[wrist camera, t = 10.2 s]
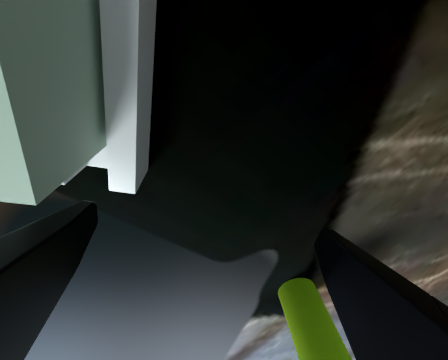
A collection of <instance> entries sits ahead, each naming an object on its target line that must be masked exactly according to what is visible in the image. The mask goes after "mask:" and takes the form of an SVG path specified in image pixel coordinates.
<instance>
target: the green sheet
mask: <svg viewBox="0 0 448 360" xmlns="http://www.w3.org/2000/svg"><path fill="white" fill-rule="evenodd" d="M106 146H107V143H106V123H105V103H104V83H103V63H102V43H101V24H100V4H99V0H0V201H1V202H10V203H19V204H28V205H37V204H38V203H39V202H41V201H42V200H43V199H44V198H45V197H47V196H48V195H49V194H50V193H51V192H53V191H54V190H55V189H56V188H57V187H58V186H60V185H61V184H62V183H63V182H64V181H66V180H67V179H68V178H69V177H70V176H71V175H73V174H74V173H75V172H76V171H77V170H79V169H80V168H81V167H82V166H83V165H84V164H86V163H87V162H88V161H89V160H90V159H92V158H93V157H94V156H95V155H96V154H97V153H99V152H100V151H101V150H102V149H103V148H105V147H106Z"/></svg>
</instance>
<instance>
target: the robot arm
mask: <svg viewBox="0 0 448 360" xmlns="http://www.w3.org/2000/svg"><path fill="white" fill-rule="evenodd" d="M97 223H98V216H97V206H96V203H95V202H93V201H84V200H83V201H80V202H77V203H75V204H73V205H71V206H69V207H66V208H64V209H62V210H60V211H58V212H55V213H53V214H51V215H49V216H46V217H44V218H42V219H40V220H38V221H35V222H33V223H31V224H29V225H26V226H24V227H22V228H20V229H18V230H15V231H13V232H11V233H9V234H7V235H4V236H2V237H0V360H24V359H25V357H26V355H27V354H28V352H29V350H30V349H31V347H32V345H33V343H34V342H35V340H36V338H37V337H38V335H39V333H40V331H41V330H42V328H43V326H44V325H45V323H46V321H47V319H48V318H49V316H50V314H51V313H52V311H53V309H54V307H55V306H56V304H57V302H58V301H59V299H60V297H61V295H62V294H63V292H64V291H65V289H66V287H67V285H68V284H69V282H70V280H71V279H72V277H73V275H74V273H75V272H76V270H77V268H78V266H79V264H80V262H81V260H82V258H83V256H84V253H85V251H86V249H87V247H88V244H89V242H90V240H91V238H92V235H93V233H94V231H95V229H96V226H97ZM314 249H315V252H316V255H317V259H318V262H319V265H320V269H321V272H322V275H323V278H324V281H325V284H326V287H327V289H328V292H329V294H330V297H331V299H332V302H333V304H334V307H335V309H336V312H337V314H338V317H339V319H340V321H341V324H342V326H343V329H344V331H345V334H346V336H347V339H348V341H349V344H350V346H351V349H352V351H353V354H354V356H355V359H356V360H448V306H447V305H445V304H444V303H442V302H441V301H439V300H438V299H436V298H435V297H433V296H430V294H428V293H427V292H425V291H424V290H422V289H421V288H419V287H418V286H416V285H415V284H413V283H412V282H410V281H409V280H407V279H406V278H404V277H403V276H401V275H400V274H398V273H397V272H395V271H394V270H392V269H391V268H389V267H388V266H386V265H385V264H383V263H382V262H380V261H379V260H377V259H376V258H374V257H373V256H371V255H370V254H368V253H367V252H365V251H364V250H362V249H361V248H359V247H358V246H356V245H355V244H353V243H352V242H350V241H349V240H347V239H346V238H344V237H343V236H341V235H340V234H338V233H337V232H335V231H334V230H329V229H323V230H322V231H321V232H320V234H319V236H318V238H317V239H316V241H315V243H314Z"/></svg>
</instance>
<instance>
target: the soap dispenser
mask: <svg viewBox="0 0 448 360" xmlns="http://www.w3.org/2000/svg"><path fill="white" fill-rule="evenodd" d="M278 296H279V299H280V302H281V305H282V308H283V311H284V314H285V317H286V320H287V324H288V327H289V330H290V333H291V336H292V339H293V342H294V345H295V349H296V352H297V355H298V358H299V360H352V359H351V357H350V355H349V353H348V351H347V349H346V347H345V345H344V343H343V341H342V339H341V337H340V335H339V333H338V331H337V329H336V327H335V325H334V323H333V321H332V319H331V317H330V315H329V313H328V311H327V309H326V307H325V305H324V303H323V301H322V299H321V297H320V295H319V293H318V291H317V289H316V287H315V285H314V283H313V282H312V281H311V280H310V279H307V278H295V279H291V280H289V281H287V282H285V283H284V284H282V285H281V287H280V288H279V290H278Z"/></svg>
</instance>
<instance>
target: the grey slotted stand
mask: <svg viewBox="0 0 448 360" xmlns="http://www.w3.org/2000/svg"><path fill="white" fill-rule="evenodd" d="M156 3H157V0H99V4H100V24H101V43H102V63H103V83H104V103H105V123H106V143H107V146H106V147H105V148H103V149H102V150H101V151H100V152H99V153H97V154H96V155H95V156H94V157H93V158H92V159H90V160H89V161H88V162H87V163H86V164H84V165H83V166H82V167H81V168H80V169H79V170H77V171H76V172H75V173H74V174H73V175H71V176H70V177H69V178H68V179H67V180H66V181H64V182H63V183H62V185H65V184H66V183H67V182H68V181H70V180H71V179H72V178H73V177H74V176H75V175H76V174H78V173H79V172H80V171H81V170H82V169H83V168H84V167H86V166H94V167H101V168H107V169H108V182H109V191H116V192H124V193H132V194H135V193H136V191H137V189H138V188H139V186H140V184H141V182H142V180H143V178H144V176H145V174H146V172H147V170H148V160H149V141H150V121H151V101H152V82H153V62H154V43H155V23H156Z"/></svg>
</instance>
